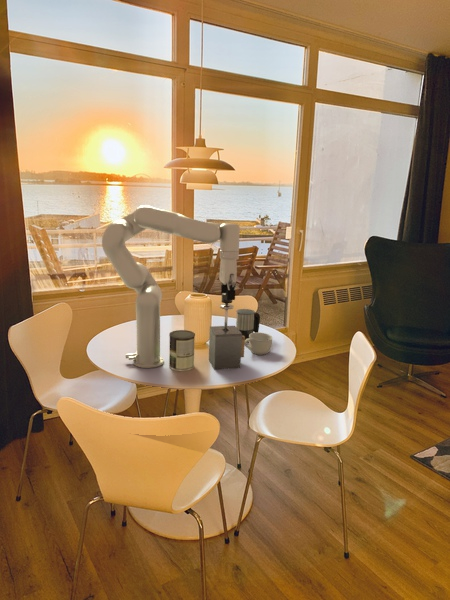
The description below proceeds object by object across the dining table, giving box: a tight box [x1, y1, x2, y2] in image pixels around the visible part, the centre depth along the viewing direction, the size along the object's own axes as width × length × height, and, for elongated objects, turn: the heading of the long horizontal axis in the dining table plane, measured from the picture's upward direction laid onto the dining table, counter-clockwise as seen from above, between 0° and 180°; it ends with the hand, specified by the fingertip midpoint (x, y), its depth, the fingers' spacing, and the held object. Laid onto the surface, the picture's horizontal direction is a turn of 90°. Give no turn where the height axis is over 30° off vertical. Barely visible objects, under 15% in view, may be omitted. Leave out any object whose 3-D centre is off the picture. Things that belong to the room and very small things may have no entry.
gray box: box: [208, 325, 245, 371], centre depth 180 cm, size 14×11×15 cm
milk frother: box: [235, 308, 261, 344], centre depth 215 cm, size 14×16×15 cm
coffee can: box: [168, 329, 196, 372], centre depth 176 cm, size 10×10×14 cm
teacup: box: [244, 331, 274, 356], centre depth 196 cm, size 14×11×8 cm
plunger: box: [219, 292, 235, 331], centre depth 177 cm, size 8×8×18 cm
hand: (227, 297), depth 175 cm, fingers open, 9 cm apart
